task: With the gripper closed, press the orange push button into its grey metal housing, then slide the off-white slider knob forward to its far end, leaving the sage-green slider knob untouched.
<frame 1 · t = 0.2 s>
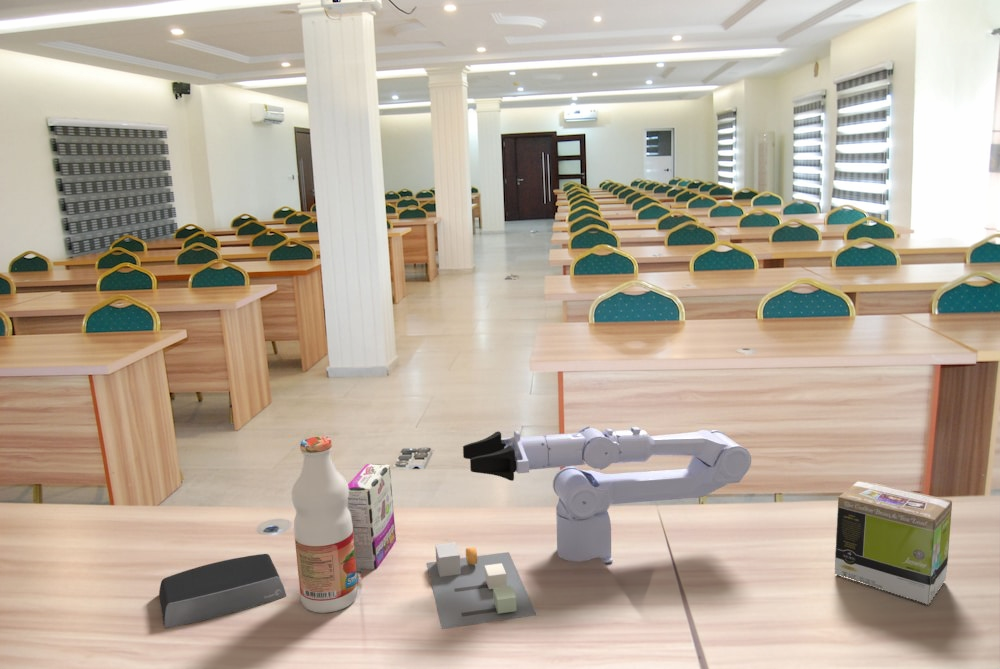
hand: (466, 458, 138), 21 cm above the table, tool horizontal, fingers open, 7 cm apart
orange button: (471, 556, 142), point 3 cm above the table, slide at 0.0 cm
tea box: (888, 580, 135), on the table
fruit juice: (330, 599, 135), on the table
control panel: (478, 592, 136), on the table
sage slider: (504, 599, 128), point 3 cm above the table, slide at 0.0 cm
off-white slider: (495, 576, 136), point 3 cm above the table, slide at 0.0 cm
external hard drive: (223, 599, 138), on the table
candy bar box: (374, 559, 148), on the table
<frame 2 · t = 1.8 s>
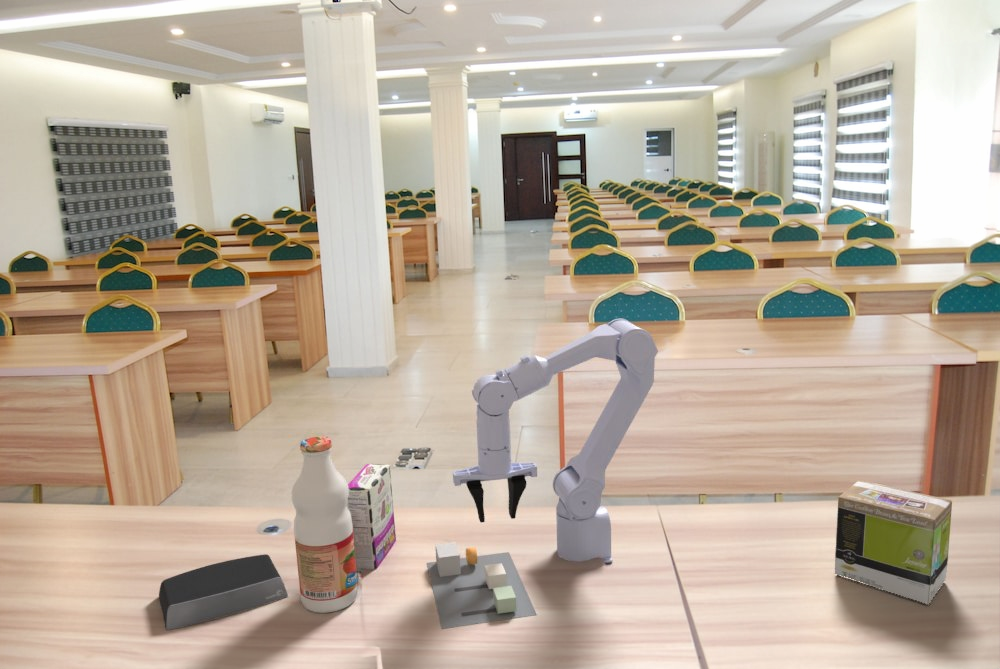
hand: (496, 518, 142), 9 cm above the table, tool pointing down, fingers open, 5 cm apart
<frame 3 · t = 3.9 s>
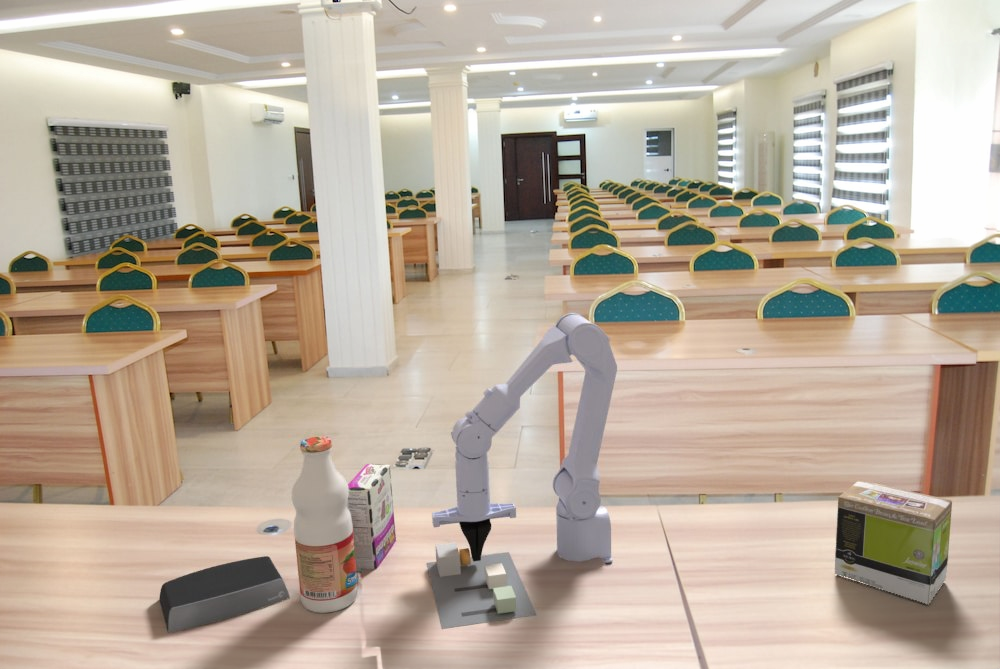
hand: (476, 558, 142), 2 cm above the table, tool pointing down, fingers closed
orange button: (464, 556, 142), point 3 cm above the table, slide at 1.2 cm, touching gripper
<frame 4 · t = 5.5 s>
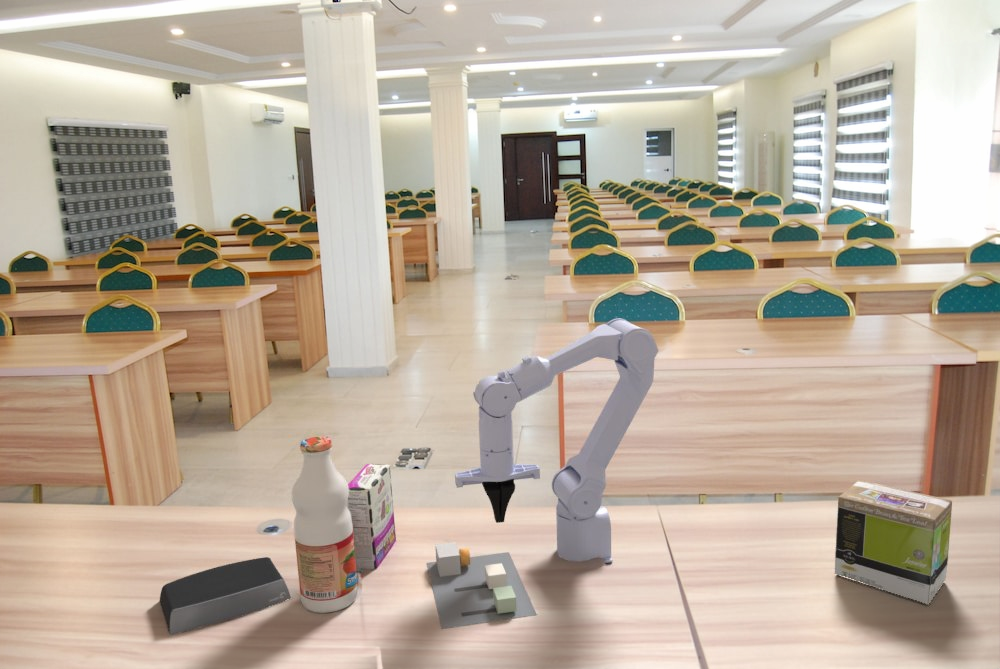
hand: (499, 520, 141), 9 cm above the table, tool pointing down, fingers closed
orange button: (464, 556, 142), point 3 cm above the table, slide at 1.3 cm
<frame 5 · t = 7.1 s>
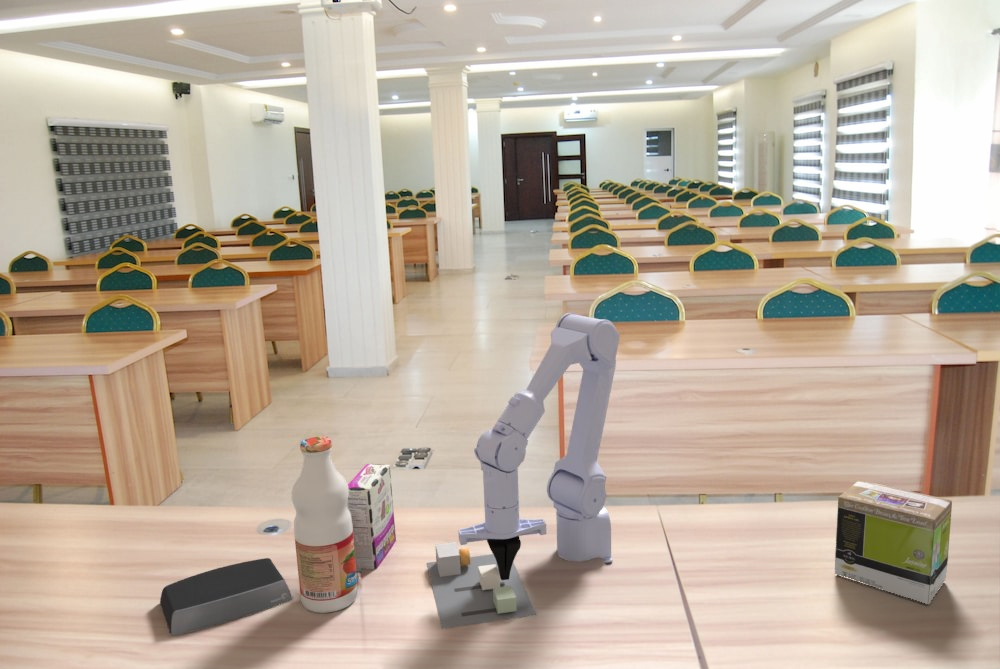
hand: (504, 576, 136), 2 cm above the table, tool pointing down, fingers closed
off-white slider: (489, 576, 135), point 3 cm above the table, slide at 1.1 cm, touching gripper
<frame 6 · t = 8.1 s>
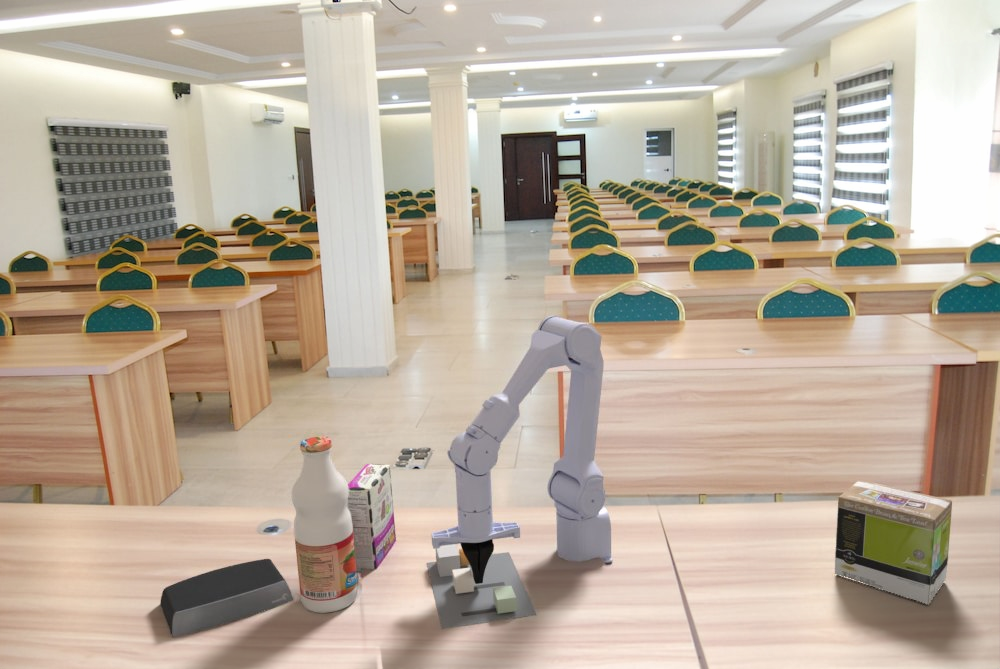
hand: (478, 580, 135), 2 cm above the table, tool pointing down, fingers closed
off-white slider: (462, 580, 135), point 3 cm above the table, slide at 5.5 cm, touching gripper
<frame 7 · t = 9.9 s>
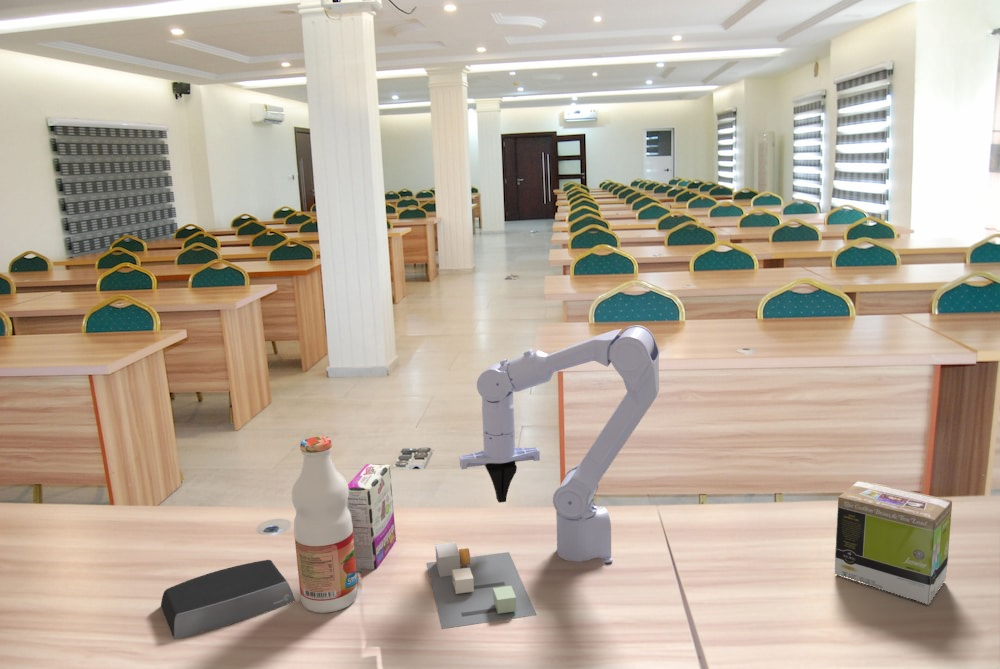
hand: (501, 500, 149), 9 cm above the table, tool pointing down, fingers closed
off-white slider: (462, 580, 135), point 3 cm above the table, slide at 5.5 cm
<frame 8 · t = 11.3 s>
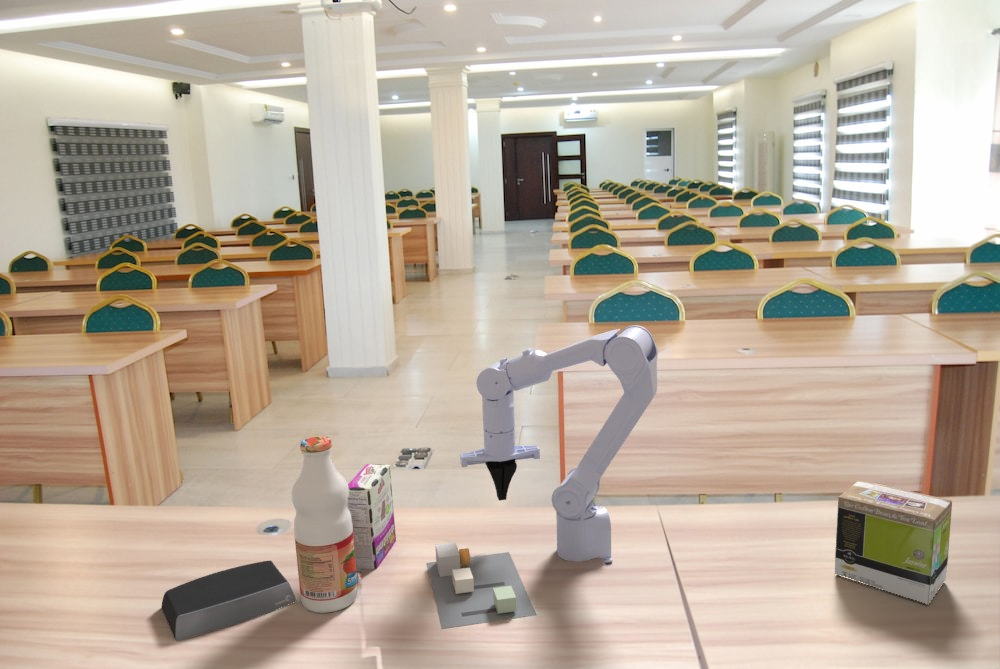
hand: (501, 498, 150), 9 cm above the table, tool pointing down, fingers closed
at the end: orange button slide at 1.3 cm; off-white slider slide at 5.5 cm; sage slider slide at 0.0 cm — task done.
